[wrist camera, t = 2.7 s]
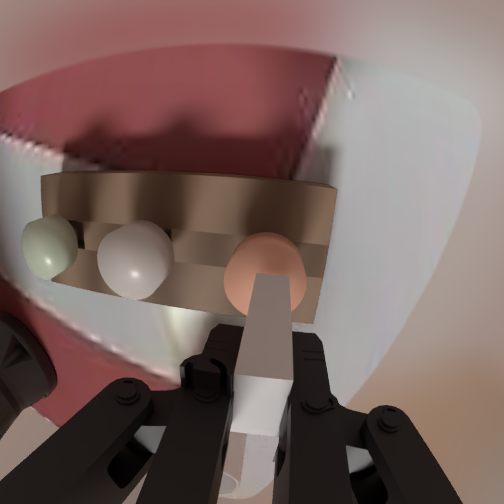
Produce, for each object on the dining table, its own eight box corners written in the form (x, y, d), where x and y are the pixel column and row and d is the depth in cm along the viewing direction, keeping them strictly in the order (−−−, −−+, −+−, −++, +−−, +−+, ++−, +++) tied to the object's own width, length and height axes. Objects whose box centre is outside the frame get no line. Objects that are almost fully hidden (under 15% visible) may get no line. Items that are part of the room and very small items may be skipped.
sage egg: (57, 257, 21) (26, 275, 17) (52, 208, 19) (18, 220, 15) (93, 263, 20) (62, 284, 16) (89, 210, 19) (54, 223, 15)
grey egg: (130, 269, 20) (101, 293, 16) (127, 212, 19) (94, 226, 15) (183, 277, 20) (162, 305, 16) (183, 216, 18) (159, 233, 14)
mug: (174, 349, 26) (135, 426, 17) (256, 362, 26) (246, 450, 16) (182, 418, 30) (159, 483, 21) (247, 429, 30) (237, 498, 20)
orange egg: (232, 283, 20) (221, 314, 16) (237, 221, 18) (225, 239, 14) (295, 290, 19) (299, 323, 15) (305, 229, 18) (312, 249, 14)
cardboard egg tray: (68, 269, 25) (51, 281, 22) (61, 172, 21) (40, 175, 19) (309, 304, 23) (313, 323, 21) (329, 185, 20) (337, 189, 17)
